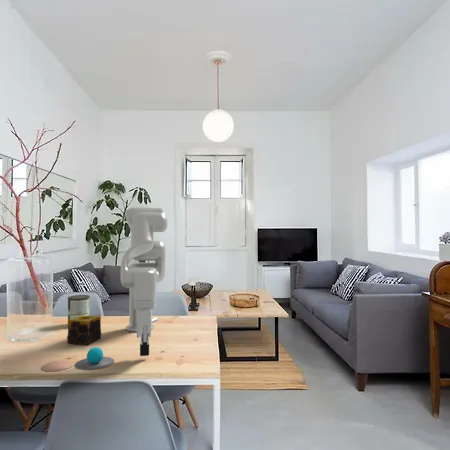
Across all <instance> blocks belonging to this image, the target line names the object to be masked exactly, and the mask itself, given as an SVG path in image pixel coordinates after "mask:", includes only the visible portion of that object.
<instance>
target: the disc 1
mask: <svg viewBox="0 0 450 450" xmlns="http://www.w3.org/2000/svg"><path fill="white" fill-rule="evenodd" d="M73 366H75V364H74V361H71V360H56V361H55V360H54V361H50V362H48V363H45V364H44V365H42V366H41V370H42V371H43V372H59V371H65V370H68V369H71V368H72V367H73Z"/></svg>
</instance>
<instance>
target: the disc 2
mask: <svg viewBox="0 0 450 450" xmlns="http://www.w3.org/2000/svg"><path fill="white" fill-rule="evenodd" d="M114 363H115V359H114V358H112V357H110V356H103V358H102V360H101V361H100V362H99V363H96V364H92V363H90V362H89V361H88V360H87V357H86V358H83V359H81V360H78V361H75V364H74V367H75V368H76V369H78V370H83V371H92V370H94V371H95V370H101V369H105V368H108V367H111V365H113V364H114Z"/></svg>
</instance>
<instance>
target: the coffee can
mask: <svg viewBox="0 0 450 450" xmlns="http://www.w3.org/2000/svg"><path fill="white" fill-rule="evenodd" d="M81 315H85V316H90V295H87V294H77V295H71V296H67V321H68V320H70V319H73V318H75V317H78V316H81Z"/></svg>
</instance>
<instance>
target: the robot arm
mask: <svg viewBox="0 0 450 450" xmlns="http://www.w3.org/2000/svg"><path fill="white" fill-rule="evenodd" d="M124 215H125V220H126V222H127V225H128V227H129V229H130V234H131V235H130V238H131V239H130V241H131V242H130V246H129V248H128V249H126V251H125V252H124V254H123V256H122V259H121V261H120V283H121V285H122V287H124V288H125V289H128V288H129V290H128V291H129V300H128V301H129V303H128V304H129V311H128V312H129V316H128V317H129V321H128V325H126V327H125V330H126V331H127V332H133V333H135V332H136V338H137V339H139V338H140V343H139V356H140V357H146V356H147V357H149V355H150V342H149V341H150V338H151V336H152V329H153V328H154V325H153V323H157V322H159V321H158V318H157V317H154V318H153V310H154V309H156V286H157V285H158V283H161V282H162V281H164V279H165V275H166V274H165V273H166V246H165V243H164V242H162V241H161V240H155V239H154V233H163V232H164V233H165V232H166V231H167V228H168V218H167V214H166V212H165V210H164V209H163V208H162V207H161V208H160V207H129V208H128V209H126V210H125V214H124ZM132 260H134V261H138V262H134V263H133V262H132V263H131V264H130V261H132ZM139 261H141V262H139ZM145 261H146V262H145ZM149 261H150V262H149Z"/></svg>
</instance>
